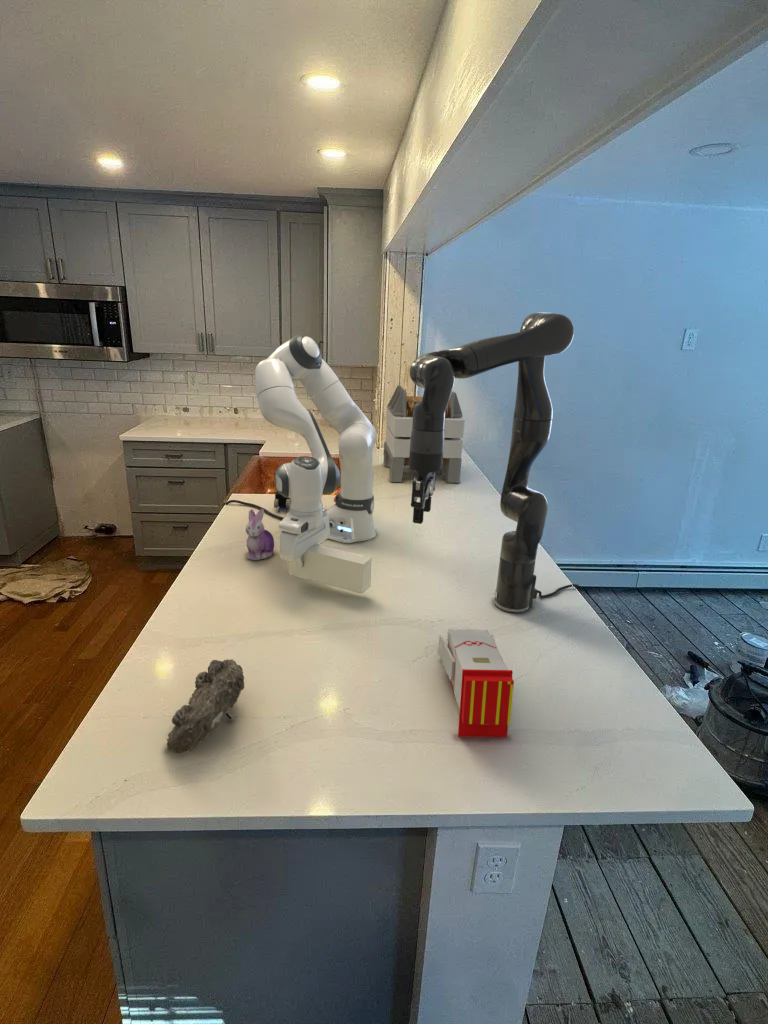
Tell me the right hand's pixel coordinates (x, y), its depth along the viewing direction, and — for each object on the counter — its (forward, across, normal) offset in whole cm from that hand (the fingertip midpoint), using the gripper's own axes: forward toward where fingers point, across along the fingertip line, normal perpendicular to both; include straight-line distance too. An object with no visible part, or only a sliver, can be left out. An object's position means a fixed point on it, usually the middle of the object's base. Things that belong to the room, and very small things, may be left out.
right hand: (421, 516), depth 131 cm
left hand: (+23, +12, +34) cm, 43 cm away
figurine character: (+30, +68, +68) cm, 101 cm away
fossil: (+30, -45, +29) cm, 61 cm away
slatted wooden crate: (+30, +139, +30) cm, 145 cm away
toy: (+30, -21, -17) cm, 40 cm away
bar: (+26, +11, +27) cm, 39 cm away
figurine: (+30, +25, +56) cm, 68 cm away
